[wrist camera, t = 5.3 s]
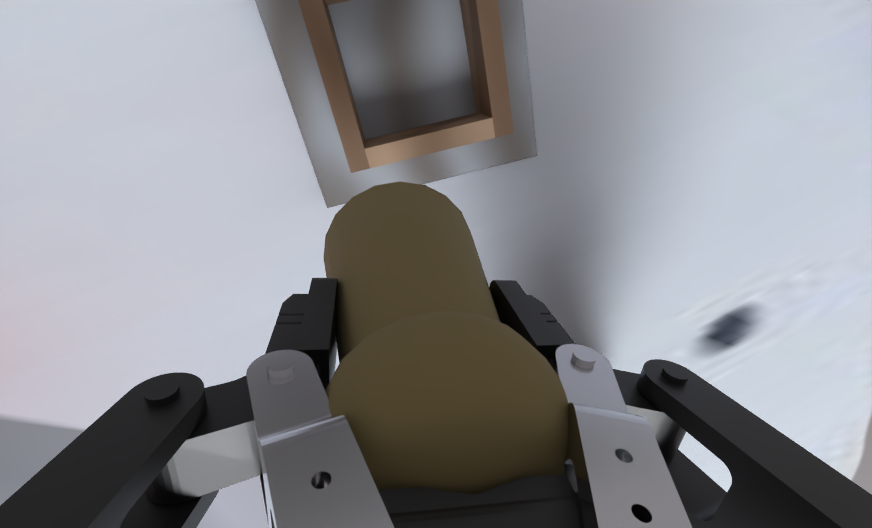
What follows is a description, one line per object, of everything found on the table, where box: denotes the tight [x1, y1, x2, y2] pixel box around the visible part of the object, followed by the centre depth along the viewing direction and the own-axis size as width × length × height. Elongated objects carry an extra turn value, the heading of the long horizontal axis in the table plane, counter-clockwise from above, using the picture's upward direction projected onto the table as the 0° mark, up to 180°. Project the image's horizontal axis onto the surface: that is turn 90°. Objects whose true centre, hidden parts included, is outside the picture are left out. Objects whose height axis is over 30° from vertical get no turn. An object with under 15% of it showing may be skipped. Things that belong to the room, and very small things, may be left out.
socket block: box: [255, 0, 537, 208], centre depth 25 cm, size 16×16×6 cm
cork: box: [324, 181, 569, 494], centre depth 12 cm, size 6×6×11 cm
